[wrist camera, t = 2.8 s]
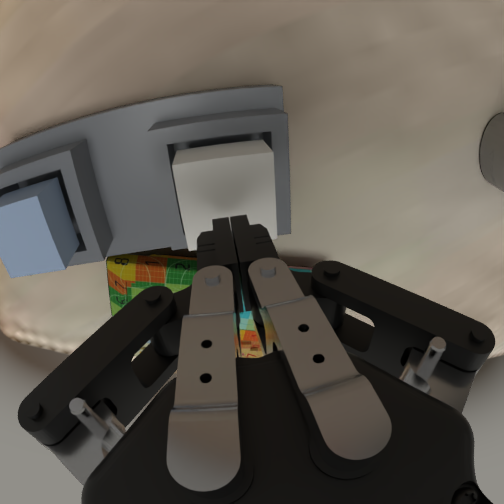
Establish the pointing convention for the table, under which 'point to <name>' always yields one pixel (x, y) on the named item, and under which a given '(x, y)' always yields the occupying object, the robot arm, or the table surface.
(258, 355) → the puzzle game
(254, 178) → the white key
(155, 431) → the robot arm
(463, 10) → the table surface
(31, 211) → the blue key
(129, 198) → the grey plastic block
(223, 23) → the table surface
